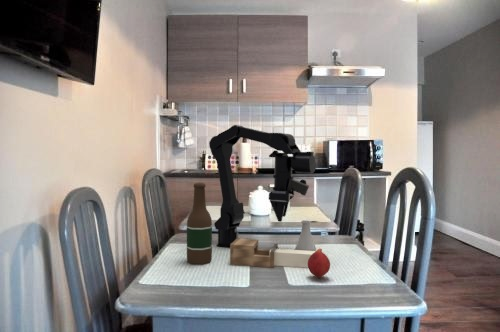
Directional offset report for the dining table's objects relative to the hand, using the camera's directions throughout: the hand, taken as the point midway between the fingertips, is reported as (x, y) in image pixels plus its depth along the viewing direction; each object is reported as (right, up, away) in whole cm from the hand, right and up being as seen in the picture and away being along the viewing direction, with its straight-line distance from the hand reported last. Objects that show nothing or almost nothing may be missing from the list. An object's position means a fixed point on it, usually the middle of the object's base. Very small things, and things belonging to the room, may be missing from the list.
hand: (281, 218), depth 118 cm
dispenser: (-9, -12, -9) cm, 17 cm away
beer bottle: (-26, -12, -8) cm, 30 cm away
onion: (+8, -13, -23) cm, 27 cm away
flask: (+9, -12, +6) cm, 16 cm away
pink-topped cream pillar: (+2, -12, -12) cm, 17 cm away
